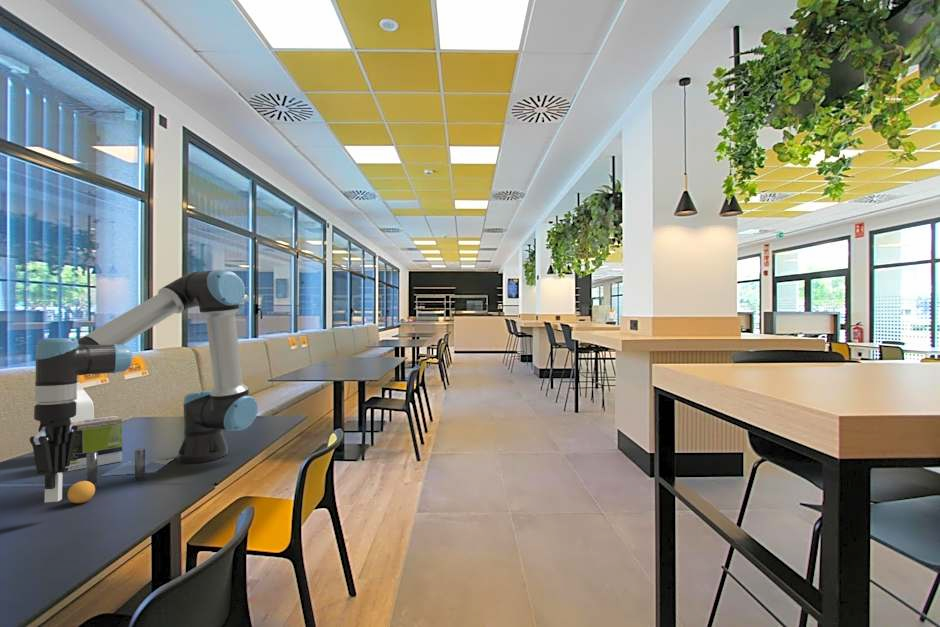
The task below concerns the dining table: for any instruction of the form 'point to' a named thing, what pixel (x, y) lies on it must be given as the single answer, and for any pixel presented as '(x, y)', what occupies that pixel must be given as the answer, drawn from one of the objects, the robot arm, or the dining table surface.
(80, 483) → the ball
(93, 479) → the outer post
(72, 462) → the tea box
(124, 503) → the dining table surface
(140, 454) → the inner post
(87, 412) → the milk
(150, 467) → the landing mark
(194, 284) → the robot arm
